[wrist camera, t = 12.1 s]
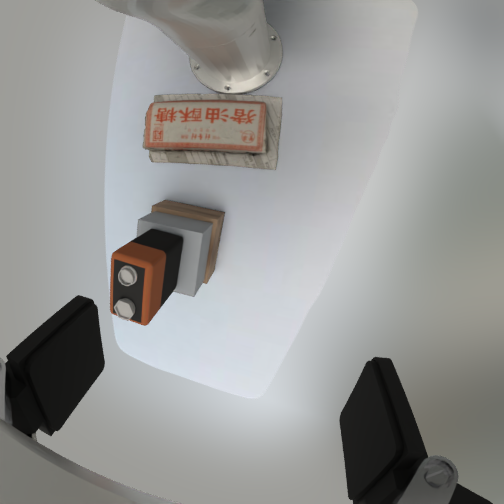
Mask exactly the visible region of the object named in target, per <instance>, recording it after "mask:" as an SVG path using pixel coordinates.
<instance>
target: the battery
mask: <svg viewBox="0 0 504 504" xmlns="http://www.w3.org/2000/svg"><path fill="white" fill-rule="evenodd" d="M182 247H183V237H182V236H179V235H175V234H171V233H168V232H164V231H160V230H156V229H150V230H148V231H146V232H145V233H143V234H142V235H140V236H138V237H137V238H135V239H134V240H132V241H130V242H129V243H127V244H126V245H124V246H123V247H121V248H119V249H118V250H116V251H115V252H113V254H112V258H111V282H110V310H111V313H112V314H114V315H117V316H118V317H119V318H121V319H124V320H127V321H129V320H130V321H133V322H136V323H138V324H141V325H144V326H145V325H147V324H148V323H149V322H150V321H151V320H152V318H153V317H154V316H155V314H156V313H157V312H158V310H159V309H160V308H161V306H162V305H163V304H164V303H165V301H166V300H167V299H168V297H169V296H170V295H171V293H172V292H173V291H174V290H175V288H176V286H177V279H178V273H179V266H180V259H181V253H182Z"/></svg>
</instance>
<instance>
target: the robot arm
mask: <svg viewBox="0 0 504 504" xmlns="http://www.w3.org/2000/svg"><path fill="white" fill-rule="evenodd" d="M95 1H97V2H99V3H100V4H102V5H104V6H106V7H108V8H110V9H112V10H115V11H118V12H120V13H123V14H126V15H129V16H132V17H136V18H139V19H142V20H145V21H147V22H149V23H151V24H152V25H154V26H155V27H157V28H158V29H159V30H161V31H162V32H163V33H164V34H166V35H167V36H168V37H169V38H170V39H171V40H172V41H173V42H174V43H175V44H177V45H178V46H179V47H180V48H181V49H182V50H183V51H184V52H185V53H187V54H188V55H189V58H190V65H191V68H192V71H193V73H194V75H195V76H196V78H197V79H198V80H199V81H200V82H201V83H202V84H203V85H205V86H206V87H207V88H209V89H211V90H213V91H215V92H218V93H221V94H235V95H240V94H245V93H249V92H252V91H255V90H257V89H259V88H260V87H262V86H264V85H265V84H266V83H268V82H269V81H270V80H271V79H272V78H273V77H274V75H275V74H276V73H277V71H278V69H279V67H280V64H281V61H282V52H283V51H282V44H281V40H280V38H279V36H278V34H277V32H276V31H275V30H274V29H273V28H272V26H271V25H269V24H268V23H266V16H265V11H264V5H263V0H95ZM272 39H275V41H272ZM198 67H200V68H199V69H198V70H197V68H198ZM267 73H268V74H269V76H266V74H267ZM228 88H231V89H230V90H229V91H228V90H227V89H228ZM6 357H7V359H8V361H7V362H6V363H4V361H3V360H2V359H1V358H0V504H181V503H178V502H174V501H171V500H167V499H164V498H161V497H158V496H154V495H151V494H148V493H145V492H142V491H139V490H137V489H134V488H131V487H128V486H126V485H123V484H121V483H118V482H116V481H113V480H111V479H108V478H106V477H104V476H102V475H99V474H97V473H95V472H93V471H90V470H88V469H86V468H84V467H82V466H80V465H78V464H76V463H74V462H72V461H70V460H68V459H66V458H64V457H62V456H61V455H59V454H57V453H55V452H53V451H52V450H50V449H48V448H47V447H45V446H43V445H41V444H39V443H38V442H37V438H36V431H37V430H38V429H40V430H41V431H43V432H44V433H46V434H48V435H50V436H52V434H53V433H54V432H55V431H58V430H60V428H61V427H62V426H63V425H64V423H65V421H66V420H67V419H68V417H69V416H70V414H71V413H72V412H73V410H74V409H75V408H76V406H77V405H78V403H79V402H80V401H81V399H82V398H83V397H84V395H85V394H86V392H87V391H88V390H89V388H90V387H91V385H92V384H93V383H94V382H95V380H96V379H97V377H98V376H99V375H100V374H101V372H102V371H103V369H104V364H105V361H104V355H103V348H102V341H101V334H100V327H99V317H98V309H97V306H96V305H95V304H94V301H93V300H92V299H89V298H86V297H83V296H79V295H78V296H76V297H75V298H73V299H72V300H71V301H70V302H69V303H67V304H66V305H65V306H64V307H62V308H61V309H60V310H59V311H58V312H56V313H55V314H54V315H53V316H52V317H51V318H49V319H48V320H47V321H46V322H44V323H43V324H42V325H41V326H40V327H39V328H37V329H36V330H35V331H34V332H33V333H32V334H30V335H29V336H28V337H27V338H26V339H25V340H24V341H22V342H21V343H20V344H19V345H18V346H17V347H16V348H15V349H13V350H12V351H11V352H10V353H9V354H8V355H7V356H6ZM340 428H341V436H342V442H343V451H344V460H345V469H346V478H347V489H348V497H349V499H350V500H353V504H493V503H491V502H490V501H488V500H487V499H484V498H483V497H481V496H479V495H477V494H475V493H474V492H472V491H470V490H468V489H467V488H465V487H463V486H461V485H460V484H458V483H457V482H458V471H457V468H456V466H455V465H454V464H453V463H452V462H451V461H450V460H449V459H447V458H445V457H442V456H436V455H435V456H430V457H428V455H427V452H426V449H425V446H424V443H423V441H422V437H421V435H420V432H419V429H418V426H417V423H416V421H415V418H414V415H413V413H412V410H411V407H410V405H409V402H408V400H407V397H406V394H405V392H404V389H403V387H402V385H401V382H400V379H399V377H398V375H397V372H396V370H395V367H394V365H393V363H392V360H391V359H389V358H379V357H374V358H373V359H372V360H371V361H368V362H367V363H366V365H365V367H364V369H363V371H362V373H361V375H360V377H359V379H358V381H357V384H356V385H355V388H354V389H353V391H352V393H351V395H350V397H349V399H348V401H347V403H346V405H345V407H344V408H343V410H342V412H341V415H340Z"/></svg>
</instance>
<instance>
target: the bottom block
mask: <svg viewBox="0 0 504 504" xmlns="http://www.w3.org/2000/svg"><path fill="white" fill-rule="evenodd" d="M154 211H157V212H162V213H167V214H172V215H176V216H181V217H186V218H191V219H196V220H201V221H205V222H210V223H213V227H212V233H211V239H210V245H209V252H208V258H207V265H206V271H205V278H204V281H203V283H205V284H207V282H208V281H209V279H210V277H211V276H212V274H213V272H214V269H215V264H216V258H217V252H218V247H219V241H220V236H221V230H222V225H223V219H224V214H225V212H221V211H216V210H212V209H207V208H202V207H198V206H193V205H188V204H183V203H178V202H173V201H169V200H164V201H162V202H159V203H157V204H155V205H153V206H152V211H151V213H152V212H154Z"/></svg>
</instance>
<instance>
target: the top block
mask: <svg viewBox="0 0 504 504" xmlns="http://www.w3.org/2000/svg"><path fill="white" fill-rule="evenodd" d="M212 227H213V223H210V222H205V221H201V220H196V219H191V218H186V217H181V216H176V215H172V214H167V213H162V212H157V211H154V212H152V213H150V214H148V215H146V216H144V217H142V218H140V219H138V227H137V237H138V236H140V235H142V234H143V233H145V232H146V231H148V230H150V229H156V230H160V231H164V232H168V233H171V234H175V235H179V236H182V237H183V247H182V253H181V259H180V266H179V273H178V279H177V286H176V288H175V290H174V291H173V292H177V293H181V294H184V295H188V296H192V297H194V296H195V295H196V293H197V291H198V290H199V288H200V286H201V285H202V283H203V281H204V278H205V271H206V265H207V258H208V252H209V245H210V239H211V233H212Z"/></svg>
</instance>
